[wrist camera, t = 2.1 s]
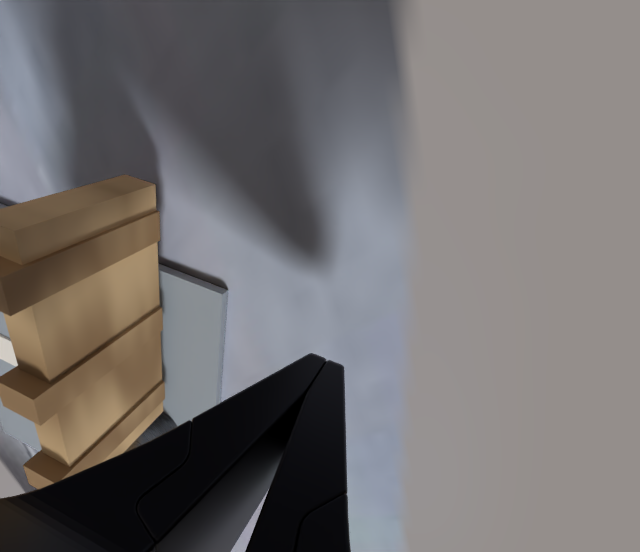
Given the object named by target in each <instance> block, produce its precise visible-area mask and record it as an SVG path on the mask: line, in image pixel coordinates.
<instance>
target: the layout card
mask: <svg viewBox="0 0 640 552" xmlns="http://www.w3.org/2000/svg"><path fill="white" fill-rule="evenodd" d="M5 207H9V206H6V205H3V204H1V203H0V209H1V208H5ZM158 272H159V301H160V307H162V314H163V330H162V331H161V359H162V381H165V399H164V400H163V411H164V412H165V413H167V414H168V415H169V416H170V417H171V418H172V419H173V420H174V422H175V423H176V425H177V426H179V425H181V424H183V423H185V422H186V421H188V420H191V421H192V419H193V418H194V417H196V416H198V415H199V414H201V413H203V412H205V411H207V410H208V409H210V408H212V407H214V406H216V405H217V404H219V403H220V396H221V382H222V368H223V353H224V339H225V325H226V311H227V297H228V290H226V289H224V288H221V287H219V286H216V285H213V284H211V283H208V282H205V281H203V280H200V279H198V278H195V277H192V276H190V275H187V274H184V273H182V272H179V271H177V270H174V269H171V268H169V267H166V266H163V265H161V264H158ZM16 366H18V364H17V360H16V357H15V353H14V350H13V346H12V343H11V339H10V336H9V332H8V329H7V325H6V321H5V318H4V314H3V313H2V312H0V376H2V375H3V374H5V373H7V372H8V371H10V370H11V369H13V368H15V367H16ZM0 423H1V426H2V429H3V432H4V433H6V434H8V435H9V436H11V437H13V438H15V439H17V440H18V441H20V442H22V443H24V444H26V445H27V446H29V447H31V448H33V449H35V450H36V451H38V452H39V451H40V450H42V449H41V445H40V442H39V438H38V434H37V431H36V427H35V424H34V422H32V421H30V420H28V419H26V418H25V417H23V416H21V415H19V414H17V413H15V412H13V411H12V410H10V409H8V408H6V407H4V406H3V404H2V401H1V398H0Z"/></svg>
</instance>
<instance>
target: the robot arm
mask: <svg viewBox="0 0 640 552" xmlns="http://www.w3.org/2000/svg"><path fill="white" fill-rule="evenodd" d="M269 487H270V488H269ZM268 489H269V491H268ZM267 491H268V494H267V496H266V499H265V502H264V504H263V507H262V509H261V512H260V515H259V517H258V520H257V522H256V525H255V528H254V530H253V533H252V536H251V538H250V541H249V543H248V546H247V549H246V551H245V552H351V550H350V540H349V523H348V497H347V495H346V494H347V463H346V423H345V383H344V367H343V365H341V364H338V363H336V362H333V361H331V360H328V361H326V359H325V358H323V357H321V356H318V355H316V354H313V353H310V354H308V355H306V356H304V357H302V358H301V359H299V360H297V361H295V362H293V363H292V364H290V365H288V366H286V367H284V368H283V369H281V370H279V371H277V372H275V373H274V374H272V375H270V376H268V377H266V378H264V379H263V380H261V381H259V382H257V383H255V384H254V385H252V386H250V387H248V388H246V389H245V390H243V391H241V392H239V393H237V394H236V395H234V396H232V397H230V398H228V399H226V400H225V401H223V402H221V403H219V404H217V405H216V406H214V407H212V408H210V409H208V410H207V411H205V412H203V413H201V414H199V415H198V416H196V417H194V418H193V419H192V421H191V420H188V421H186V422H185V423H183V424H181V425H179V426H177V427H175V428H174V429H172V430H170V431H168V432H166V433H164V434H162V435H160V436H158V437H156V438H154V439H152V440H151V441H148V442H146V443H144V444H142V445H140V446H138V447H135V448H133V449H131V450H129V451H127V452H125V453H122V454H120V455H118V456H115V457H113V458H111V459H109V460H106V461H104V462H102V463H99V464H97V465H95V466H92V467H90V468H88V469H85V470H83V471H81V472H78V473H76V474H74V475H71V476H69V477H67V478H65V479H62V480H60V481H58V482H55V483H53V484H50V485H48V486H45V487H43V488H40V489H37V490H34V491H31V492H28V493H24V494H20V495H17V496H12V497H7V498H1V499H0V552H231V550H232V548H233V547H234V545H235V543H236V542H237V540H238V538H239V537H240V535H241V533H242V532H243V530H244V529H245V527H246V525H247V524H248V522H249V520H250V519H251V517H252V515H253V514H254V512H255V510H256V509H257V507H258V506H259V504H260V502H261V501H262V499H263V497H264V496H265V494H266V492H267Z"/></svg>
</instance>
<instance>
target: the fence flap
mask: <svg viewBox="0 0 640 552" xmlns="http://www.w3.org/2000/svg"><path fill="white" fill-rule="evenodd" d="M158 241H160V216H159V211H157V210H156V185H155V184H153V183H150V182H147V181H144V180H141V179H138V178H135V177H131V176H128V175H121V176H118V177H114V178H111V179H107V180H103V181H100V182H96V183H92V184H89V185H85V186H81V187H78V188H74V189H70V190H67V191H63V192H60V193H56V194H52V195H49V196H45V197H41V198H38V199H34V200H30V201H27V202H23V203H19V204H16V205H12V206H9V207H5V208H1V209H0V312H2V313H3V314H4V318H5V321H6V325H7V329H8V332H9V336H10V339H11V343H12V346H13V350H14V353H15V357H16V360H17V364H18V366H16V367H15V368H13V369H11V370H10V371H8V372H7V373H5V374H3V375H2V376H0V398H1V401H2V404H3V406H4V407H6V408H8V409H10V410H12V411H13V412H15V413H17V414H19V415H21V416H23V417H25V418H26V419H28V420H30V421H32V422H34V424H35V427H36V431H37V434H38V438H39V442H40V445H41V449H42V450H40V451H39V452H38V453H37V454H36V455H34V456H33V457H32V458H31V459H30V460H29V461H27V462H26V463H25V464H24V465H23V467H24V470H25V473H26V476H27V479H28V482H29V484H30V485H31V486H33V487H35V488H37V489H40V488H43V487H45V486H48V485H50V484H53V483H55V482H58V481H60V480H62V479H65V478H67V477H69V476H71V475H74V474H76V473H78V472H81V471H83V470H85V469H88V468H90V467H92V466H95V465H97V464H99V463H102V462H104V461H106V460H109V459H111V458H113V457H115V456H118V455H120V454H122V453H124V452H125V451H126V450H127V449H128V447H129V446H130V445H131V444H132V443H133V442H134V441H135V440H136V439H137V438H138V437H139V436H140V435H141V434H142V433H143V432H144V431H145V430H146V429H147V428H148V427H149V426H150V425H151V424H152V423H153V421H154V420H155V419H156V418H157V417H158V416H159V415H160V414H161V413H162V412H163V400H164V399H165V381H162V359H161V331H162V330H163V314H162V307H160V301H159V272H158V243H157V242H158Z"/></svg>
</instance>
